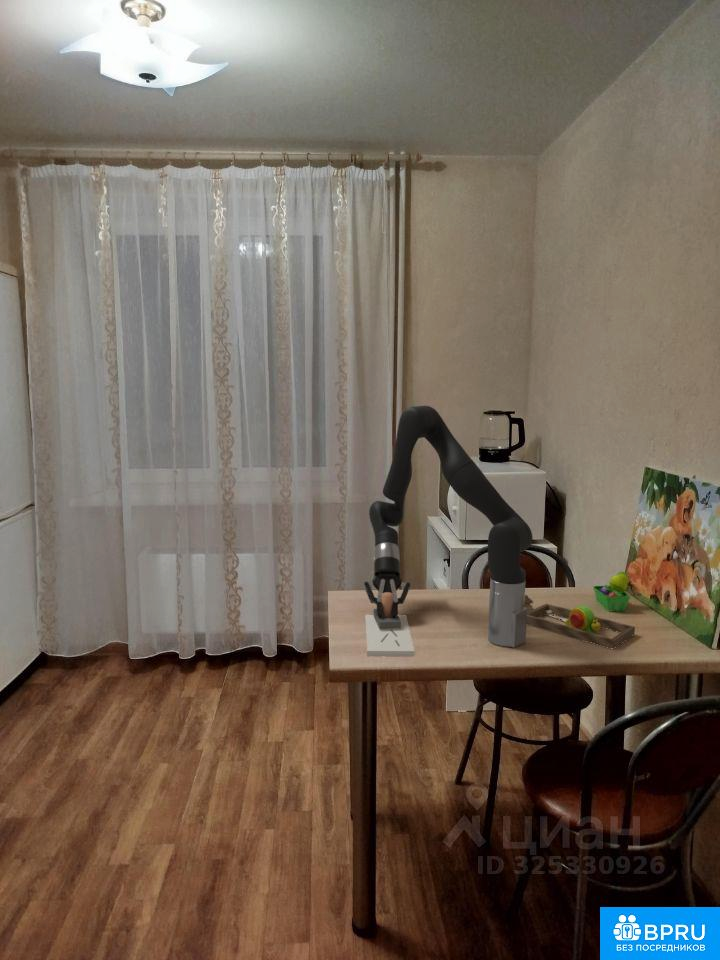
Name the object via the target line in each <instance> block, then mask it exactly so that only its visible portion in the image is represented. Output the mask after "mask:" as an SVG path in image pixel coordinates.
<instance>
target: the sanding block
mask: <svg viewBox="0 0 720 960" xmlns="http://www.w3.org/2000/svg"><path fill="white" fill-rule="evenodd" d="M381 603H382V618H379V615H377V608H373V614H372V615H373V616H374V619H375V621H376V623H377V626H378V628H379V630H394V629H401V620H400V619H399V617H398V615H399V614H398V615H397V616H395V618H393V593H390V592H384V593H382V601H381Z"/></svg>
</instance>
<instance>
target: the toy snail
mask: <svg viewBox="0 0 720 960" xmlns="http://www.w3.org/2000/svg"><path fill="white" fill-rule="evenodd" d="M570 610H571V612H570V616H569V618H564V617H560V618H561V619H562V620H560V619H557V618H556V617H555V616H556V615H554V616H552V611H551V610H547V611H545V612H544V613H545V614H544V615H545V616H549V617H551V618H553V619H556V620H559V621H562V622H564V624H566V626H569V627H570V626H571V627H573V628H576V629H580V630H583V631H587V632H590V633H593V632H595V633H597V631H599V630H601V629H602V628H601V626H600V624H599V623H598V622H599V620H598V619H597V620H596V621H595V616H596V615H595V613H594V611H593V610H592V609H591V608H590V607H588V606H587V605H579V606H576V607H574V608H573V609H570Z"/></svg>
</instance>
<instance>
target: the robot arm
mask: <svg viewBox="0 0 720 960" xmlns="http://www.w3.org/2000/svg"><path fill="white" fill-rule="evenodd" d="M398 421H399V422H398V424H397V431H396V439H395V444H394V449H393V455H392V461H391V463H390V467H389V471H388V473H387V476H386V480H385V482H384V485H383V489H382V495H383V496H384V497H385V498H387V499H388V500H391V501H392V502H394V503H391V502H387V501H381V500H375V501H374V502H373V503H371V505H370V507H369V511H368V512H369V513H368V514H369V515H368V516H369V519H370V524H371V527H372V530H373V534H374V553H373V555H374V556H373V579H372V581H364V585H363V588H364V590H365V593H366V595H367V597H368V600H369V602H370V603H371V604H375V605H376V609H377V615H379V618H382V593H384V592H390V593H393V618H395V616H397V615H399V614H398V613H399V605H402V604H404V603H405V600H406V597H407V595H408V593H409V591H410V589H411V583H410V582H404V581H403V580H402V579H401V570H400V569H401V566H400V565H401V564H400V563H401V562H400V561H401V560H400V559H401V557H400V549H399V533H398V530H397V529H395V528H393V527H398V526H400V525H401V524H402V522H403V519H404V509H405V508H404V507H405V500H406V499H405V498H406V494H407V491H408V489H409V486H410V484H411V481H412V476H413V464H412V463H413V462H412V457H413V456H412V454H413V451H414V448H415V445H416V444H417V442H418V440H419V439H422V438H424V439H425V440H426V441H427V442H428V443H429V444H430V445H431V446H432V448H433V449H434V450H435V452H436V453H437V455H438V458H439V462H440V467H441V471H442V474H443V476H444V479H445V481H446V482H447V483H448V485H449V486H450V487H451V488H452V490H453V491H454V492H455V494H457V496H459V497H460V498H461V499H462V500H463V501H464V502H466V503H467V504H468V505H470V506H471V507H473V508H474V509H476V510H478V511H479V512H480V513H482V515H484V516H485V518H487V520H488V521H489V522H490V523H491V524H492V525H493V526H492V527H491V528H490V530H489V533H488V537H487V566H488V570H489V573H490V575H489V576H490V578H489V579H490V581H489V600H488V602H489V603H488V605H489V606H488V626H487V627H488V630H487V641H489V642H490V643H492V644H494V645H497V646H501V647H510V648H512V649H513V648H517V647H518V646H520V645H521V644H523V643H526V640H527V625H528V624H527V608H525V607H524V600H525V595H526V594H525V593H526V579H527V578H526V577H527V576H526V575H527V574H526V570H525V569H524V568H523V567H521V553H522V552H524V551H526V550H527V549H528V550H529V548H530V547H531V546H532V543H533V537H534V536H533V531H532V529H531V527H530V526H529V524H528V523H527V522H526V520H524V519H523V518H522V517H521V516H520V515H519V514H518V513H517V512H516V511H515V510H514V509H513V508H512V507H511V506H510V505H509V503H508V502H506V500H505V499H504V498H503V497H502V495H501V494H500V493H499V492H498V490H497V489H496V488H495V487H494V485H493V484H492V483H491V482H490V480H489V479H488V478H487V477H486V475H485V474H484V473H483V471H482V470H481V469H480V467H479V466H478V465H477V464H476V462H475V461H474V460H473V459H472V458H471V457H470V456H469V454H468V453H467V451H465V449H464V448H463V446H462V445H461V444H460V443H459V441H458V440H457V439H456V437H454V435H453V433H452V432H451V430H450V429H449V427H448V425H447V424H446V422H445V421H444V419H443V418H442V417H441V415H440V413H439V412H438V411H437V410H436V409H435V408H434V407H432V406H430V405H415V406H410V407H407V408H405V409H404V410H403V411H402V413H401V415H400V418H399V420H398ZM373 587H374V588H375V589H376V590H377V591H378V593H377V597H375V594H374V592H373ZM400 587H401V590H402V592H401V595H400V597H398V594H397V591H398V590H399V588H400Z"/></svg>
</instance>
